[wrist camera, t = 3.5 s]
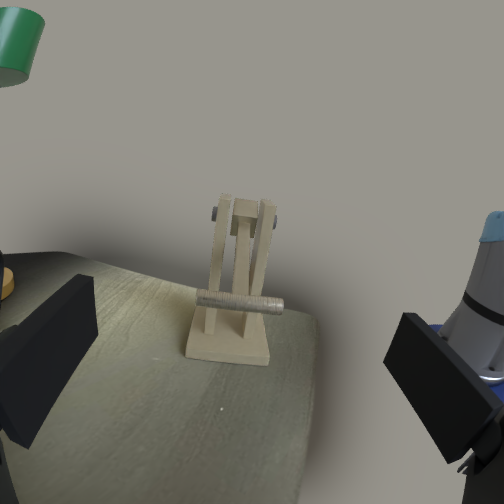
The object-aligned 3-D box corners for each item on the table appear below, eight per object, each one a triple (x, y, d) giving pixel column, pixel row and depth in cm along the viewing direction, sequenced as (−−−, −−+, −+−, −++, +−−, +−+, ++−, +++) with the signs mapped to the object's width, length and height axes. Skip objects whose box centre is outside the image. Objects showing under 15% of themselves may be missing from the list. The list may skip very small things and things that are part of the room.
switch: (278, 323, 21) (286, 303, 19) (194, 314, 20) (195, 292, 18) (272, 223, 30) (277, 203, 28) (213, 215, 29) (215, 195, 27)
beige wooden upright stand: (267, 366, 27) (300, 214, 23) (185, 357, 26) (197, 200, 22) (259, 316, 36) (280, 198, 32) (196, 309, 35) (209, 188, 31)
